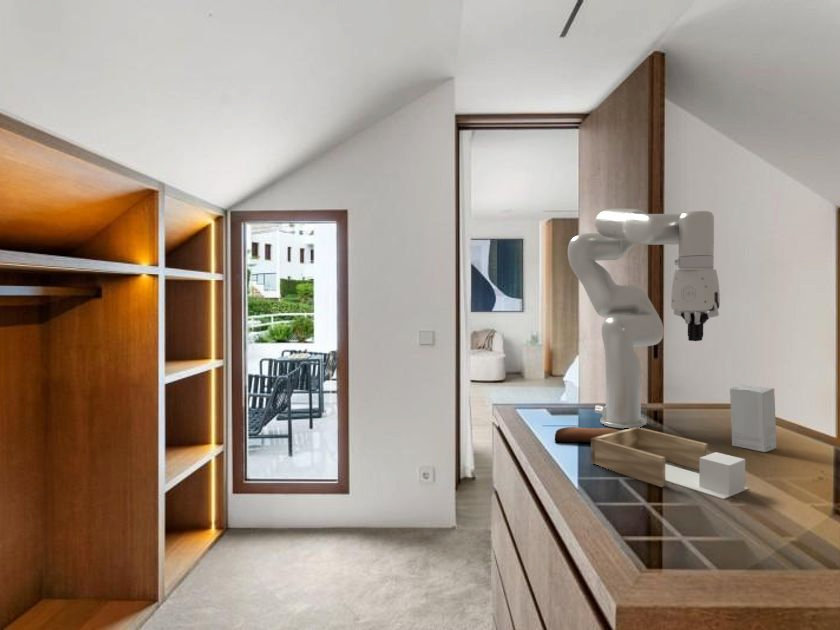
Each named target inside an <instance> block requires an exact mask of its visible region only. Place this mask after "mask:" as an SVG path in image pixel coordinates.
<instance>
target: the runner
mask: <svg viewBox="0 0 840 630" xmlns="http://www.w3.org/2000/svg"><path fill="white" fill-rule="evenodd" d="M665 482H667V483H670V484H674V485H677V486H680V487H683V488H686V489H690V490H693V491H695V492H699V493H702V494H705V495H709V496H712V497H715V498H718V499H721V500H725V499H728V498H730V497H732V496H735V495H737V494H740V493H742V492H744V491H747V490H749V487H746V486H745V489H743V490H741V491H738V492H736V493H734V494H731V495H729V496H728V495H725V494H722V493H719V492H715V491H712V490H709V489H705V488H702V487H699V472H695V471H691V470H688V469H683V468H681V467H677V466H674V465H670V464H668V463H665Z"/></svg>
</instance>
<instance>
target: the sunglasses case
mask: <svg viewBox="0 0 840 630" xmlns="http://www.w3.org/2000/svg"><path fill="white" fill-rule="evenodd" d="M617 431H620V430H619V429H617V428H612V427H609V428H608V427H601V428H600V427H599V428H592V427H589V428H587V427H586V428H584V427H578V426H566V427H562V428H558V429H557V430H556V431H555V433H554V442H555V441H558V442H557V443H573V442H574V443H577V442H581V443H582V442H583V443H591V438H594V437H598V436H602V435H606V434H610V433H614V432H617Z"/></svg>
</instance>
